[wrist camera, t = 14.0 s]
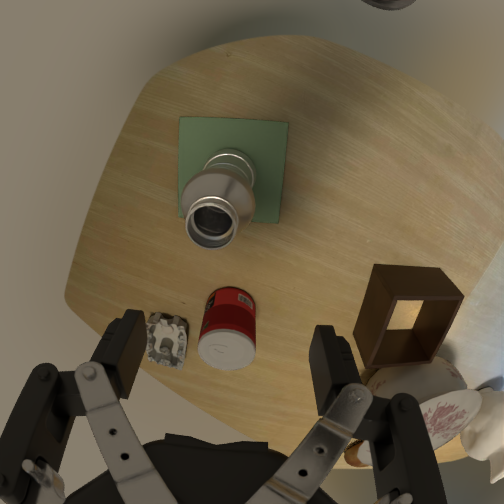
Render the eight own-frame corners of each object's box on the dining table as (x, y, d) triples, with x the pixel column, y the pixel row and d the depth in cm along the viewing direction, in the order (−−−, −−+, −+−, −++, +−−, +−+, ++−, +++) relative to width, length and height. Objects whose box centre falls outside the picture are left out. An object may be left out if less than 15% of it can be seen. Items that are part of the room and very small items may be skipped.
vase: (509, 365, 63) (551, 437, 36) (487, 405, 72) (518, 470, 46) (464, 385, 65) (504, 469, 38) (445, 424, 74) (472, 496, 47)
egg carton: (149, 308, 51) (143, 322, 48) (191, 317, 52) (187, 333, 48) (148, 350, 56) (142, 365, 52) (185, 359, 57) (182, 374, 53)
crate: (373, 263, 47) (394, 295, 39) (439, 267, 47) (464, 296, 39) (352, 333, 54) (365, 369, 46) (413, 332, 54) (431, 363, 46)
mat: (180, 116, 37) (179, 117, 37) (288, 122, 38) (288, 122, 37) (179, 215, 44) (178, 217, 43) (277, 221, 44) (278, 223, 43)
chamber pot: (389, 318, 52) (432, 406, 34) (471, 341, 56) (511, 405, 38) (319, 407, 64) (331, 485, 45) (403, 415, 68) (424, 476, 50)
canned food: (205, 285, 49) (194, 331, 39) (255, 285, 49) (256, 332, 39) (208, 322, 52) (200, 369, 42) (255, 323, 52) (255, 371, 42)
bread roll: (334, 449, 75) (338, 471, 68) (377, 427, 70) (383, 450, 63) (352, 455, 78) (356, 475, 71) (392, 434, 73) (398, 455, 66)
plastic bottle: (245, 201, 42) (238, 279, 24) (198, 183, 41) (155, 249, 23) (263, 157, 39) (273, 205, 21) (215, 138, 38) (180, 169, 20)
